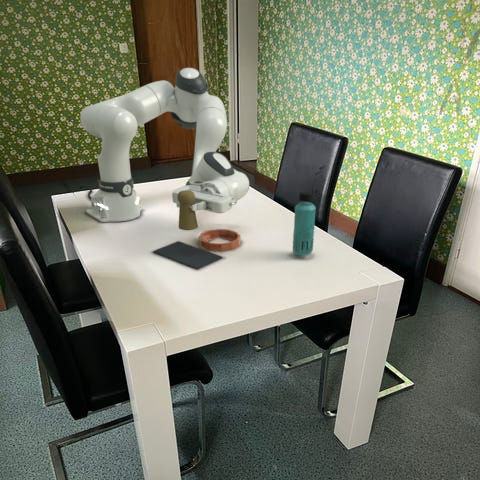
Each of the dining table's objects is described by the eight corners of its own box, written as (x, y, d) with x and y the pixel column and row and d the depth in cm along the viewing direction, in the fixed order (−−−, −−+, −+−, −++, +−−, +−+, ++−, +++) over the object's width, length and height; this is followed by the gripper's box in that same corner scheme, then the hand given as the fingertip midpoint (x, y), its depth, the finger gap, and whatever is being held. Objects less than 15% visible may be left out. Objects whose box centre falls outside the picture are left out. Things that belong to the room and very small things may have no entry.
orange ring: (190, 244, 155) (190, 237, 153) (218, 232, 163) (218, 226, 162) (220, 254, 147) (220, 247, 146) (248, 242, 156) (248, 235, 154)
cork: (201, 224, 144) (199, 189, 138) (193, 231, 139) (191, 195, 133) (183, 222, 146) (180, 187, 140) (175, 229, 141) (172, 193, 135)
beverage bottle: (299, 261, 142) (303, 196, 132) (287, 253, 147) (290, 191, 137) (316, 257, 145) (322, 193, 134) (304, 250, 150) (309, 188, 139)
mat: (153, 252, 149) (153, 251, 148) (178, 242, 156) (178, 241, 155) (197, 269, 138) (197, 268, 137) (222, 258, 145) (222, 256, 144)
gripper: (240, 210, 144) (212, 223, 135) (190, 199, 155) (161, 210, 145) (239, 190, 141) (211, 202, 131) (189, 180, 151) (159, 190, 142)
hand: (184, 206), depth 138 cm, fingers closed on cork, 4 cm apart
